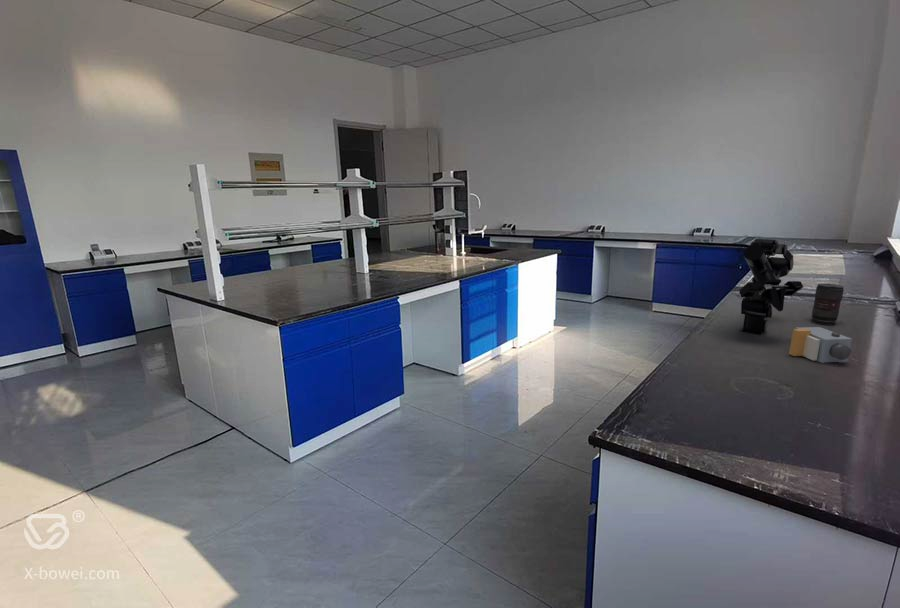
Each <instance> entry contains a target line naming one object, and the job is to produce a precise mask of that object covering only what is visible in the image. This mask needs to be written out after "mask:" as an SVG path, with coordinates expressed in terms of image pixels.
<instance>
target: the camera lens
mask: <svg viewBox="0 0 900 608" xmlns="http://www.w3.org/2000/svg"><path fill="white" fill-rule="evenodd" d="M844 287H845V286H843V285H839V284H835V283H834V284H833V283H818V284H817V286H816V287H815V288H816V289H815V293H814V301H813V307H812V312H811V318H812V323H814V322H815V323H814V324H817V323H819V324H818V325H822V324H825V325H824V326H833V325H835V323H836V321H837V320H838V317H839V313H840V308H841V307H840V306H841V302H842V299H843V295H844V290H845V289H844Z"/></svg>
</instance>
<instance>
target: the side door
mask: <svg viewBox="0 0 900 608" xmlns="http://www.w3.org/2000/svg"><path fill="white" fill-rule="evenodd" d="M810 334H811V331H810V330H807V329H795V328H793V330H792V334H791V335H792V336H791V341H790V347H789V351H788V352H789V355H791V356H794V357H805V358H807V359H808V360H810V361H816V360H817V356H818V350H819V345H820V340H819V339H817V338H814V337H812V336H810Z"/></svg>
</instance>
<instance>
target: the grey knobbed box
mask: <svg viewBox="0 0 900 608" xmlns="http://www.w3.org/2000/svg"><path fill="white" fill-rule="evenodd" d="M794 329H807V330H810V331H811V334H810V336H812V337H814V338H817V339H819V340H820V345H819V350H818V356H817V360H815V361H816V362H818V361H819V362H818V363H820V362H821V363H822V364H825V363H824V362H839V363H848V360H849V357H851V354H852V350H851V347H852V341H853V338H851V337H848V336H845V335H843V334H841V333H839V332H835V331H831V330H829V329H826V328H823V327H820V326H814V327H813V326H809V327H808V326H806V327H795V328H794Z"/></svg>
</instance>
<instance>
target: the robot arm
mask: <svg viewBox="0 0 900 608" xmlns="http://www.w3.org/2000/svg"><path fill="white" fill-rule="evenodd" d="M742 253H743V256H744V259H745V261H746V263H747V265H748V267H749V269H750V271H751V273H752V276H753V277H752V278H751V281H747V282H746V283H745V284H744V285H743V286H742V287H741V288H740V289H739V295H740V297H741V298H742V299H741V303H740V306H741V307H740V314H741V315H744V317H743V326H742V328H741V329H740V331H742V332H746V333H751V334H758V335H763V334H764V333H765V332H766V331H767V330H768V323H769V321H768V319H769V318H770V319H771V318H772V317H773V308H775V310H777V311H778V312H782V311H783V310H784V307H785V306H784V305H785V297H791V296H794V295H795V294H797V293H798V292H799V291H800V290H802V289H803V288H804V285H803V283H802V282H801V281H799V280H788V281H786V282H785V283H784V284H781V283H782V280H781V279H780V278H783V277H786V276H787V275H788V274H789V273H790V272H791V271H793V269H794V268H793V267H794V255H793V254H792V253H791V252H790V251H789V250H788V244H785V243H779V240H777V239H771V238H767V239H766V238H755V239H754V241H752V242H751V243H750V245H749V246H747V247H746V248H745V249H744V250H743V252H742ZM776 255H782V257H779V256H777V257H776ZM780 284H781V285H780Z"/></svg>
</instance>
